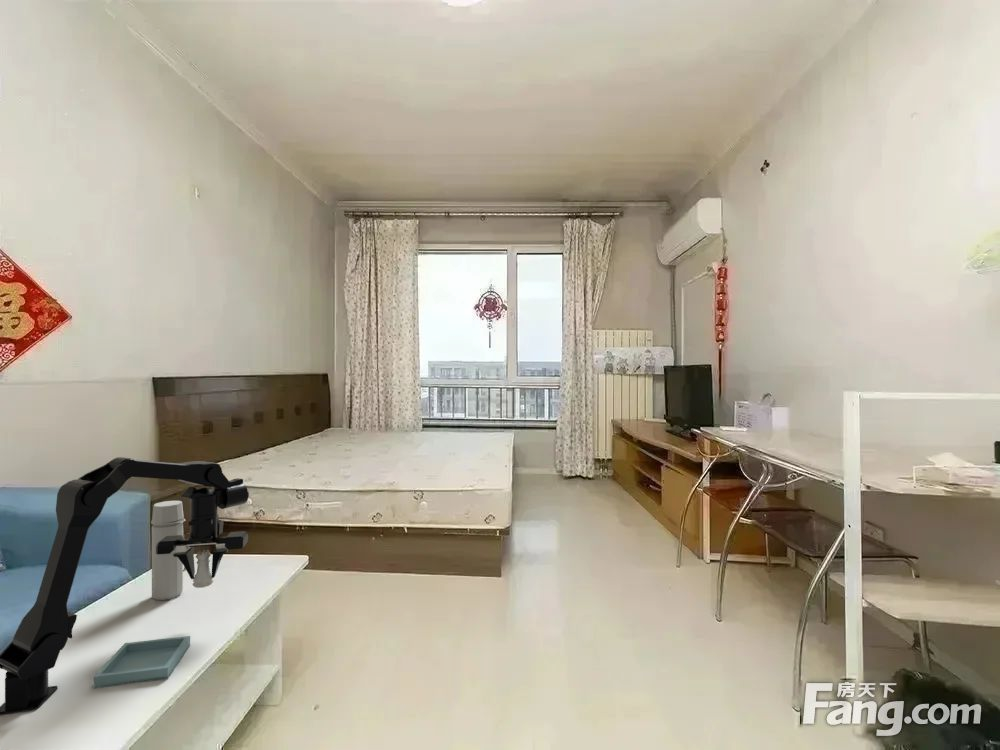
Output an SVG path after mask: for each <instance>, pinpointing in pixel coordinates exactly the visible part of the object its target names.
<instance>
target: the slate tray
mask: <svg viewBox="0 0 1000 750" xmlns="http://www.w3.org/2000/svg"><path fill="white" fill-rule="evenodd" d="M190 647H191V635H186V636H177V637H167V638H157V639H150V640H142V641H141V640H140V641H139V640H138V641H132V642H131V641H130V642H125V643H124V644H122V645H121V647H119V649H118V650H117V651H116V652H115V653H114V654H113V655H112V656H111V657H110V659H108V661H107V662H106V663H105V664H104V665H103V666H102V667H101V668H100V669H99V671H97V673H96V674H95V675H94V676H93V689H99V688H100V689H101V688H105V687H106V688H107V687H113V686H114V687H115V686H122V685H131V684H138V683H139V684H140V683H145V682H153V681H162V680H169V678H170V677H171V675H172V674H173V672H174V670H175V669H176V668H177V666H178V665H179V663H180V662H181V660H182V658H183V657H184V655H185V654H186V653H187V652H188V650H189V648H190Z"/></svg>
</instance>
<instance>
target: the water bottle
mask: <svg viewBox="0 0 1000 750" xmlns="http://www.w3.org/2000/svg"><path fill="white" fill-rule="evenodd" d="M183 509H184V508H183V501H181V500H166V501H160V502H156V503H154V505H153V509H152V517H151V521H150V524H151V597H152V598H153V599H154V600H156V601H164V600H165V601H166V599H167V600H171V599H174V598H176V597H178V596H180V595H181V594H182V593H183V589H184V572H187V570H186V569H185V567H184V565H183V564H182V562H181V561H180V560H179V558H178V557H174V556H173V554H174V553H175V549H174V550H173V551H172V552H171V553H170V554H156V545H157V543H158V542H159V541H161V540H162V539H163V538H165V537H166V536H175V535H182V536H183V539H186V538H185V532H184V522H186V521H187V520H186V519H185V516H184V510H183Z"/></svg>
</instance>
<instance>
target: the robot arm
mask: <svg viewBox="0 0 1000 750" xmlns="http://www.w3.org/2000/svg"><path fill="white" fill-rule="evenodd" d="M132 477H133V478H145V479H158V480H159V479H162V480H176V481H179V482H182V483H187V484H190V485H194V486H195V485H196V486H202V487H200V488H196V487H193V486H188V487H187V490H185V491H184V492H183V493H181V495H180V497H181V498H184V499H188V500H189V499H190V501H189V503H190V505H189V507H190V508H189V511H190V513H189V514H190V515H189V520H188V526H190V527H189V528H190V529H189V538H185V539H183V536H182V535H175V536H166V537H165V538H163V539H162V540H161V541H159V542H158V543H157V545H156V554H170V553H171V552H172V551H173V550H174V549H175V553H174V554H173V556H174V557H178V558H179V560H180V561H181V562H182V564H183V568H184V567H185V569H186V572H187V574H188V575H189V578H190V579H191V580H193V579H194V577H195V575H196V571H195V570H196V569H195V567H196V566H195V556H194V554H195V553H194V552H195V548H199V547H209V546H210V547H211V546H215V549H214V550H213V551H212V561H211V574H212V578H213V579H214V578H215V577H216V574H217V572H218V570H219V566H220V563H221V560H222V558H223V557H224V554H226V553H228V552H229V550H230V551H231V550H241V549H243V548H244V547H245V546H246V544H247V543H248V542H249V533H247V531H246V530H242V531H230V532H229V533H228V534H227V535H226V536H220V535H223V531H224V530H223V529H224V524H225V523H224V520H222V519H219V518H220V517H219V513H218V508H219V509H221V510H224V509H229V508H233V507H238V506H241V505H245V504H246V503H247V502H248V500H249V496H250V494H249V493H250V492H249V491H248V488H247V486H246V484H244V479H243V478H234V479H231V480H229V479H228V478H227V477H226V475H225V473H224V472H223V468H222V467H221V465H220V464H219V463H216V462H212V461H203V460H196V461H195V460H193V461H185V462H184V461H183V462H178V463H177V462H176V463H174V462H165V461H161V462H160V461H152V460H142V459H134V458H131V457H130V458H129V457H125V456H123V457H122V456H119V457H115V458H113V459H112V460H110V461H108V462H107V463H106V464H104V465H101V466H100V467H98V468H96V469H93V470H91V471H88V472H86V473H85V474H83V475H82V476H80V477H79V478H77V479H73V480H70V481H68V482H66V483H64V484H63V485H61V486H60V487H59V489H58V491H57V495H56V505H55V513H56V518H57V524H58V525H57V529H56V533H55V536H54V539H53V543H52V546H51V550H50V553H49V557H48V560H47V563H46V566H45V570H44V573H43V577H42V580H41V584H40V587H39V590H38V592H37V596H36V599H35V603H34V605H32V607H31V608H30V609H29V610H28V612H27V613H26V614H25V616H23V617H22V619H21V621H20V624H19V625H18V627H17V629H16V631H15V634H14V635H13V638H12V641H11V642H9V644H8V645H7V646H6V648H5V649H4V650H3V651H2V652H1V653H0V669H1V670H4V671H6V673H5V678H4V702H3V703H2V704H1V705H0V715H5V714H12V713H19V712H27V711H34V710H37V709H39V708H40V707H41V706H42V704H44V703H45V702H46V701H47V700H48V699H49V698H50V697H51V696H52V695H53V694H54V693H55V692H56V691H57V690H58V689H59V688H58V685H51V686H50V685H49V670H50V669H54V667H55V666H56V663H57V661H58V657H59V656H60V655H59V654H60V652H61V651H62V650H63V649H64V648H65V646H66V644H67V643H68V639H72V638H73V628H74V626H75V624H76V621H77V617H78V615H77V614H76V613H72V612H70V611H69V610H68V602H69V599H70V598H69V597H70V593H71V591H72V587H73V584H74V582H75V577H76V573H77V570H78V566H79V563H80V559H81V556H82V553H83V548H84V545H85V541H86V538H87V535H88V532H89V529H90V527H91V526H92V524H93V523H95V521H96V520H97V519H98V518H99V517H100V515H101V513H102V511H103V509H104V507H105V506H106V503H107V501H108V499H109V498H111V497H112V496H113V495H115V494H116V493H117V492H118V491H120V489H121V488H122V487H123V486H124V485H125V483H126V482H127V481H128V480H129V479H131V478H132ZM208 487H209V488H208ZM210 487H211V488H212V489H210Z"/></svg>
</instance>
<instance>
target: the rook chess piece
mask: <svg viewBox="0 0 1000 750" xmlns="http://www.w3.org/2000/svg"><path fill="white" fill-rule="evenodd" d="M211 556H212V553H211V552H210V550H209V549H202V550H199V551H197V554H196V555H195V558H196V559H197V561H196V564H197V568H196V572H195V576H194V579H192V582H193V583H191V584H192V586H193V587H194V588H196V589H201V588H205V587H209V586H211V585H212V584H213V583H214V580H213V579H214V578H212V571H211V569H210V561H211V560H210V557H211Z"/></svg>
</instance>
